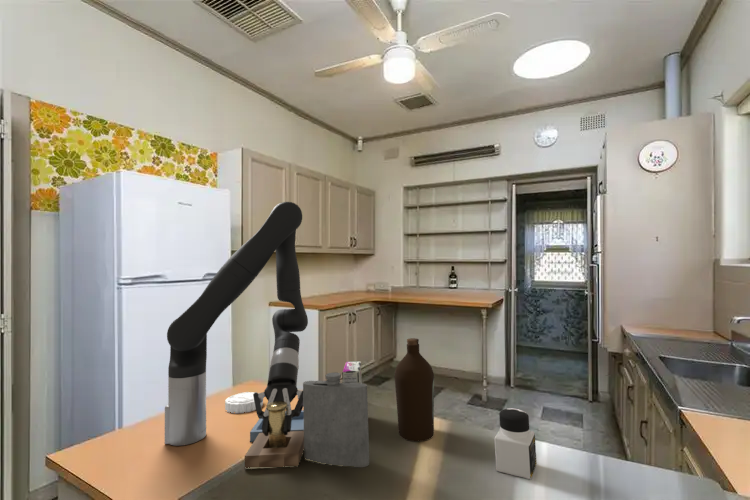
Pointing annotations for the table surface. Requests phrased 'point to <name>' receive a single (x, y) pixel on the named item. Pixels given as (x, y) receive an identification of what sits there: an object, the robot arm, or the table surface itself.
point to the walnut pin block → (275, 451)
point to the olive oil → (415, 395)
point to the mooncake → (241, 403)
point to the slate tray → (295, 426)
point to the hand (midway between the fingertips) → (275, 433)
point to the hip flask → (336, 422)
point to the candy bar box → (352, 372)
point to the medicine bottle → (515, 444)
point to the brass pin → (277, 424)
